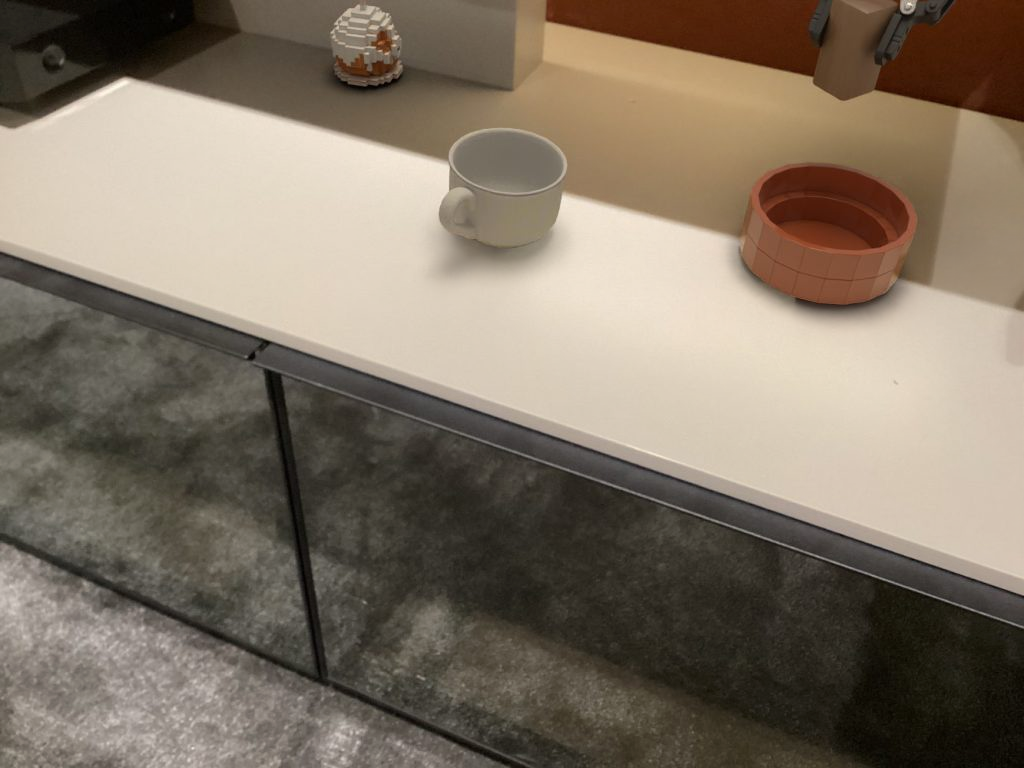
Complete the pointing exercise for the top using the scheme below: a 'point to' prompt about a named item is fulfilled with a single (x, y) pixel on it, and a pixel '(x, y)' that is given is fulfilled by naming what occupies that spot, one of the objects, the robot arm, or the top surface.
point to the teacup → (503, 187)
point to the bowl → (826, 232)
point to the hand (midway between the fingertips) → (847, 51)
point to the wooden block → (852, 47)
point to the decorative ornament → (366, 46)
